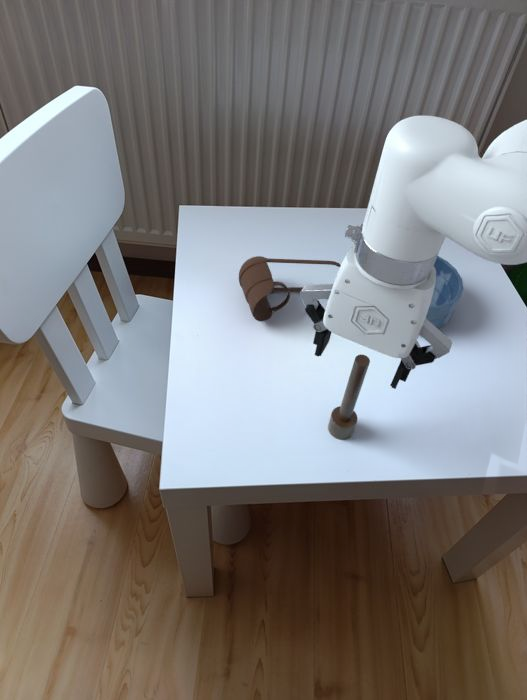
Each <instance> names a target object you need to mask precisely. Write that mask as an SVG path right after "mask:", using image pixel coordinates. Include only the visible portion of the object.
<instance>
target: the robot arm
mask: <svg viewBox="0 0 527 700" xmlns="http://www.w3.org/2000/svg"><path fill="white" fill-rule="evenodd" d="M376 170H377V171H376V174H375V178H374V182H373V186H372V189H371V193H370V197H369V200H368V204H367V208H366V211H365V216H364V219H363V223H361V224H360V225H358V224H357V225H354V224H352V223H349V224H348V225H347V227H346V230H345V232H344V237H345V238H347V239H350V241H351V242H354V243H353V245H352V247H351V248H350V249H349V250H348V251H347V253H346V255H345V256H344V257H343V260H342V262H341V263H340V265H341V266H340V267H338V271H337V274H336V276H335V278H334V281H333V283H323V284H322V283H318V284H317V283H315V284H305V285H304V286H302V287H303V289H302V290H301V291H299V295H300V298H301V301H302V303H303V306H304V307H305V308H304V312H305V313H306V314H307V316H308V317H309V319H310V321H312V323H313V326H312V328H313V330H314V331H315V333H314V337H313V342H312V344H313V345H316V346H315V351H314V356H315V357H321V356H322V355H323V353H324V351H325V349H326V348H327V346H328V344H329V342H330V339H331V336H332V333H333V334H334V335H337V336H339V337H341V338H344V339H346V340H347V341H351V342H353V343H355V344H358V345H360V346H363V347H365V348H368V349H369V350H373V351H376V352H377V353H380V354H382V355H386V356H388V357H391V358H395V359H400V362H399V364H398V366H397V369H396V371H395V374H394V376H393V378H392V381H391V382H390V385H389V386H390V387H391V388H392V389H394V390H396V389H397V387H398V384H399V382H400V381H402V382H405V383H406V381H407V380H408V377H409V375H410V373H411V370H414V369H416V367H417V366H423V365H427V364H433V363H434V362H435V360H437V359H440V358H441V357H443V356H445V355H448V354H449V353H450V351H451V348H452V346H453V341H452V340H451V339H450V338H449V337H448V336H446V335H445V334H444V332H442V331H441V330H439V329H440V328H436V327H435V326H434V325H433V324H432V323H431V322H430V321H429V320H428V319H426V315H427V312H428V309H429V306H430V303H431V299H432V295H433V291H434V286H435V280H436V270H435V267H434V266H433V265H434V263H435V261H436V258H437V256H439V253H440V251H441V249H442V246H443V244H444V242H445V239H446V238H448V239H449V240H450V241H452V242H453V243H455V244H457V245H458V246H460V247H461V248H463V249H465V250H466V251H468V252H470V253H472V254H473V255H475V256H477V257H479V258H481V259H483V260H486V261H489V262H491V263H493V264H494V263H495V264H498V265H507V266H514V265H516V266H517V265H521V264H526V263H527V119H525V120H523V121H520V122H518V123H516V124H514V125H513V126H511V127H508V129H506V130H504V131H502V132H501V134H499V135H498V136H497V137H496V138H495V139H494V140H493V141H492V142H491V143H490V145H488V147H487V148H486V150H485V153H483V156H482V157H481V156H480V154H479V148H478V143H477V140H476V139H475V137H474V135H473V134H472V133H471V132H470V130H468V129H467V128H465V127H464V126H463V125H461V124H459V123H457V122H456V121H452V120H451V119H450V120H449V119H447V118H444V117H440V116H434V115H414V116H409V117H406V118H403V119H401V120H400V121H398V122H397V123H395V125H394V126H393V127H391V130H389V132H388V133H387V136H386V138H385V141H384V144H383V148H382V152H381V156H380V159H379V163H378V167H377V169H376ZM319 300H327V303H326V306H325V308H324V306H323V305H322V303H321V302H320V301H319ZM419 335H420V337H422V338H423V339H424V340H425V341H426V342H427V343H429V345H424V346H421V345H420V343H419V341H418V338H419Z"/></svg>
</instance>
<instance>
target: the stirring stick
mask: <svg viewBox="0 0 527 700" xmlns="http://www.w3.org/2000/svg"><path fill="white" fill-rule="evenodd" d="M370 363H371V359H370V357H368V356H367V355H366V354H358V355H356V356H355V357H354V361H353V364H352V367H351V371H350V374H349V377H348V381H347V384H346V386H345V390H344V394H343V397H342V400H341V403H340V405H339V406H336V407H334V408H333V410H332V411H331V414H330V417H329V420H328V424H327V431H328V433H329V435H331V436H332V437H333V438H335V439H337V440H348V439H349V438H351V437H352V435H353V434H354V431H355V428H356V426H357V423H358V415H357V413H356V411H355V407H356V404H357V403H358V402H357V401H358V399H359V396H360V393H361V389H362V387H363V384H364V381H365V378H366V375H367V373H368V369H369V366H370Z"/></svg>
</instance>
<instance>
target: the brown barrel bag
mask: <svg viewBox="0 0 527 700" xmlns="http://www.w3.org/2000/svg"><path fill="white" fill-rule="evenodd" d="M268 263H270V264H271V263H272V264H273V263H274V264H275V263H276V264H277V263H278V264H299V265H300V264H301V265H302V264H303V265H329V266H336V267H337V268H340V266H341V263H339V262H337V261H335V260H334V261H333V260H321V259H320V260H319V259H295V258H269V257H268V258H267V257H265V256H261V255H257V256H252V257H250V258H248V259H247V260H245V261H244V262H243V263H242V265H241V266H240V269H239V271H238V282H239V286H240V287H241V290H242V292H243V295H244V299H245V301H246V303H247V304H248V307H249V309H250V312H251V316H252V317H253V318H254V319H255V320H256V321H257V322H265V321H267V320H270V319H271V318H272V317H273V312H277V311H279V310H280V309H282V308H283V307H285V306H286V305H287V304H288V302H289V301H290V297H291V293H290V292H301V290H302V289H303V287H304V286H293V287H292V286H291V287H288V286H287V285H286V284H285V283H284V282H281V281H274V279H273V274H272V271H271V268H270V267H269V265H268ZM271 292H287V294H286V297H285V299H283V301H282V302H280V303H279V304H277V305H275V306H272V305H271V303H270V300H269V298H268V295H269V294H270V293H271Z"/></svg>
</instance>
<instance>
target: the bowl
mask: <svg viewBox="0 0 527 700" xmlns="http://www.w3.org/2000/svg"><path fill="white" fill-rule="evenodd" d="M433 266H434V267H435V270H436V280H435V286H434V291H433V295H432V299H431V303H430V306H429V309H428V312H427V315H426V319H428V320H429V321H430V322H431V323H432V324H433V325H434V326H435V327H436V328H438V329H440V328H442V327H444V326H445V325H446V324H447V323H448V322H449V321H450V320H451V318H452V316H453V314H454V312H455V310H456V308H457V305H458V303H459V301H460V299H461V297H462V294H463V292H464V282H463V278H462V276H461V275H460V273H459V271H458V270H457V269H456V267H454V266H453V265H452V264H451V263H450V262H449V261H448V260H446V259H445V258H442V257H441V256H439V255H438V256H437V258H436V261H435V263H434V265H433Z"/></svg>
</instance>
